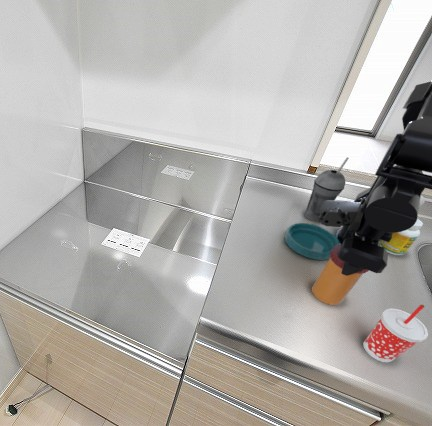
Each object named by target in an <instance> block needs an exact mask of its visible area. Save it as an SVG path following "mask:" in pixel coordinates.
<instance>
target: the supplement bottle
mask: <svg viewBox="0 0 432 426" xmlns="http://www.w3.org/2000/svg"><path fill="white" fill-rule="evenodd" d="M423 225H424V223H423V221H421V220H420V219H419V218H417V221H416V223H415V224H414V225H413V226H412V227H411V228H409V229H407V230H405V231H402V232H396V233H392V239H391V240H390V241H389V242H386V241H383V240H380V241H379V246H381V247H384V248H385V250H386V251H387V253H388V254H389V255H393V256H403V255H405V254H406V253H407V251H408V250H409V249H410V248H411V246H413V244H414V243H415V241H417V239H418V238H419V237H420V235H421V231H420V230H421V228H422V227H423Z"/></svg>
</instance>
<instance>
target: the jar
mask: <svg viewBox="0 0 432 426" xmlns="http://www.w3.org/2000/svg"><path fill="white" fill-rule="evenodd" d="M341 272H342V269H341V268H340V267H338V266H337V265H336V264H335V263H334V262H333V261H332V260H331V258H329V259H327V261H326V262H325V265H324V267H323V268H322V269H321V271H320V273H319V275H318V276H317V278H316V279H315V281H314V283H313V284H312V286H311V292H312V295H313V296H314V297H315V298H316V299H317V300H318V301H320V302H322V303H324V304H326V305H330V306H338V305H341V304H342V303H343V301H344V300H345V299H346V297H347V296H348V294H349V293H350V292H351V290H352V289H353V288H354V287H355V285H356V284H357V283H358V281H359V280H360V278H362V276H363V274H364V273H362V274H357V273H354V274H351V275H349V276H346V275H343V274H342V273H341Z"/></svg>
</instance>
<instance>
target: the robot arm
mask: <svg viewBox="0 0 432 426" xmlns="http://www.w3.org/2000/svg"><path fill="white" fill-rule="evenodd" d="M402 109H404V110H405V111H404V113H403V114H402V118H401V120H402V127H403V130H402V133H399V132H397V133H396V134H395V136H394V137H393V139H392V140H391V142H390V144H389V146H388V148H387V150H386V152H385V153H384V155H383V158H382V160H381V161H380V163H379V165H378V167H377V169H376V171H375V173H374V176H376V177H375V179H374V180H373V182H372V183H371V186H370V187H368V188H367V189H365V190H363V191H361V192H359V193H357V196H356V197H355V199H354V200H336V199H335V200H326V201H324V202H323V204H322V206H321V208H320V217H319V220H320V221H319V223H320V225H322V226H325V227H331V228H332V227H334V228H337V230H336V233H335V235H334V236H335V237H336V238H337V239H338V241H339V243H340V244H341V248H340V251H339V254H338V257H339V258H340V259H341V260H343V261H345V262H344V265H343V269H342V272H341V273H342V274H343V275H346V276H349V275H351V274H354V273H357V272H360V271H362V270H365V269H367V270H369V271H368V272H372V273H375V274H381V273H382V272H383V271H384V270H385V269H386V267H387V266H388V259H389V253H387V251H386V250H385V248H384V247H381V246H380V241H382V240H383V241H386V242H389V241H390V240H391V239H392V233H396V232H402V231H405V230H407V229H409V228H411V227H412V226H413V225H414V224H415V223H416V221H417V219H418V216H419V209H420V207H419V204H420V196H422V193H423V192H424V191H425V190H426V189H427V190H431V191H432V175H430V174H426V173H431V174H432V80H430V81H428V82H423V83H419V84H416V85H415V86H414V87H413V89H412V91H411V92H410V94H409V96H408V97H407V99H406V101H405V102H404V104H403V107H402ZM423 172H425V173H423Z"/></svg>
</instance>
